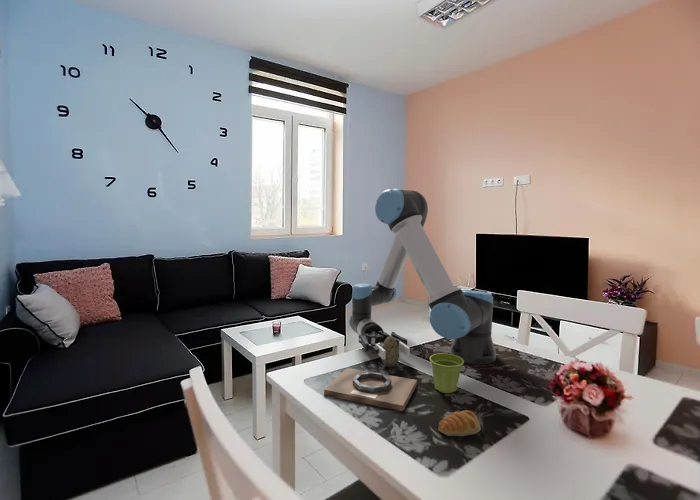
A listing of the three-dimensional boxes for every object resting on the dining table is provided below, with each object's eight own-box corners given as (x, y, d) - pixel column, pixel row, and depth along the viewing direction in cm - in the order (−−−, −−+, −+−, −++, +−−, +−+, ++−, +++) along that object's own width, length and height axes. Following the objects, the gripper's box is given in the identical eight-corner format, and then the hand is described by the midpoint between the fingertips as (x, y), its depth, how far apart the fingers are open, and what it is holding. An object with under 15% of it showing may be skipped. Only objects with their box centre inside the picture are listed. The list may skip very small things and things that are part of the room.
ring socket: (394, 380, 111) (394, 375, 111) (383, 395, 102) (383, 390, 102) (361, 374, 115) (361, 369, 115) (348, 388, 106) (348, 383, 105)
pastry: (449, 442, 84) (449, 426, 84) (431, 427, 91) (431, 411, 90) (483, 433, 88) (483, 417, 88) (463, 419, 94) (464, 404, 94)
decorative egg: (377, 367, 124) (377, 337, 123) (386, 361, 129) (386, 332, 128) (393, 371, 121) (394, 340, 120) (402, 365, 126) (403, 335, 125)
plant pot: (464, 398, 104) (465, 367, 103) (428, 394, 106) (429, 364, 105) (461, 383, 113) (462, 354, 112) (428, 380, 115) (429, 352, 114)
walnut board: (416, 385, 112) (416, 379, 112) (402, 411, 97) (403, 404, 97) (346, 372, 120) (346, 367, 120) (324, 394, 105) (324, 388, 105)
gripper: (395, 339, 145) (425, 361, 123) (343, 344, 139) (365, 369, 117) (396, 319, 144) (426, 338, 123) (343, 323, 138) (365, 345, 116)
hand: (396, 353), depth 120 cm, fingers open, 8 cm apart
